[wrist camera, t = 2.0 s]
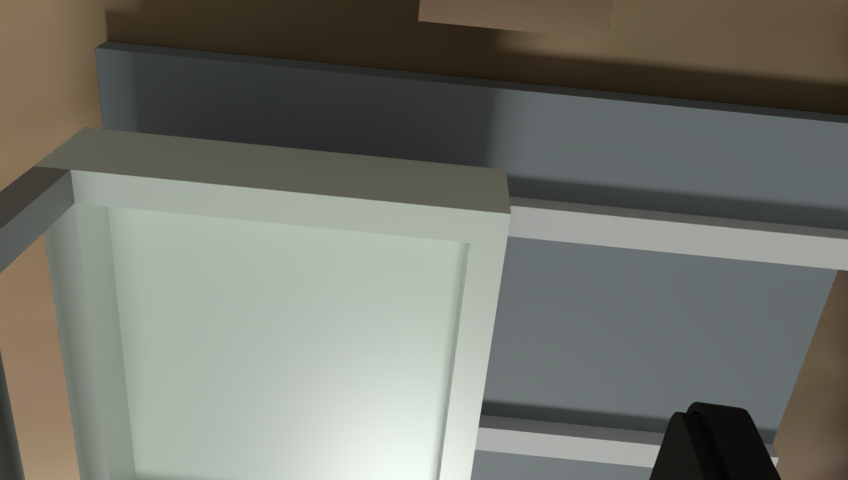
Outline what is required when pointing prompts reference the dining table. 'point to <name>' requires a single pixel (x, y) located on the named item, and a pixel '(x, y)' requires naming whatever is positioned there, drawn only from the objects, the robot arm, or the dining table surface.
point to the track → (570, 233)
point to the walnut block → (524, 15)
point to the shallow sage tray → (262, 307)
